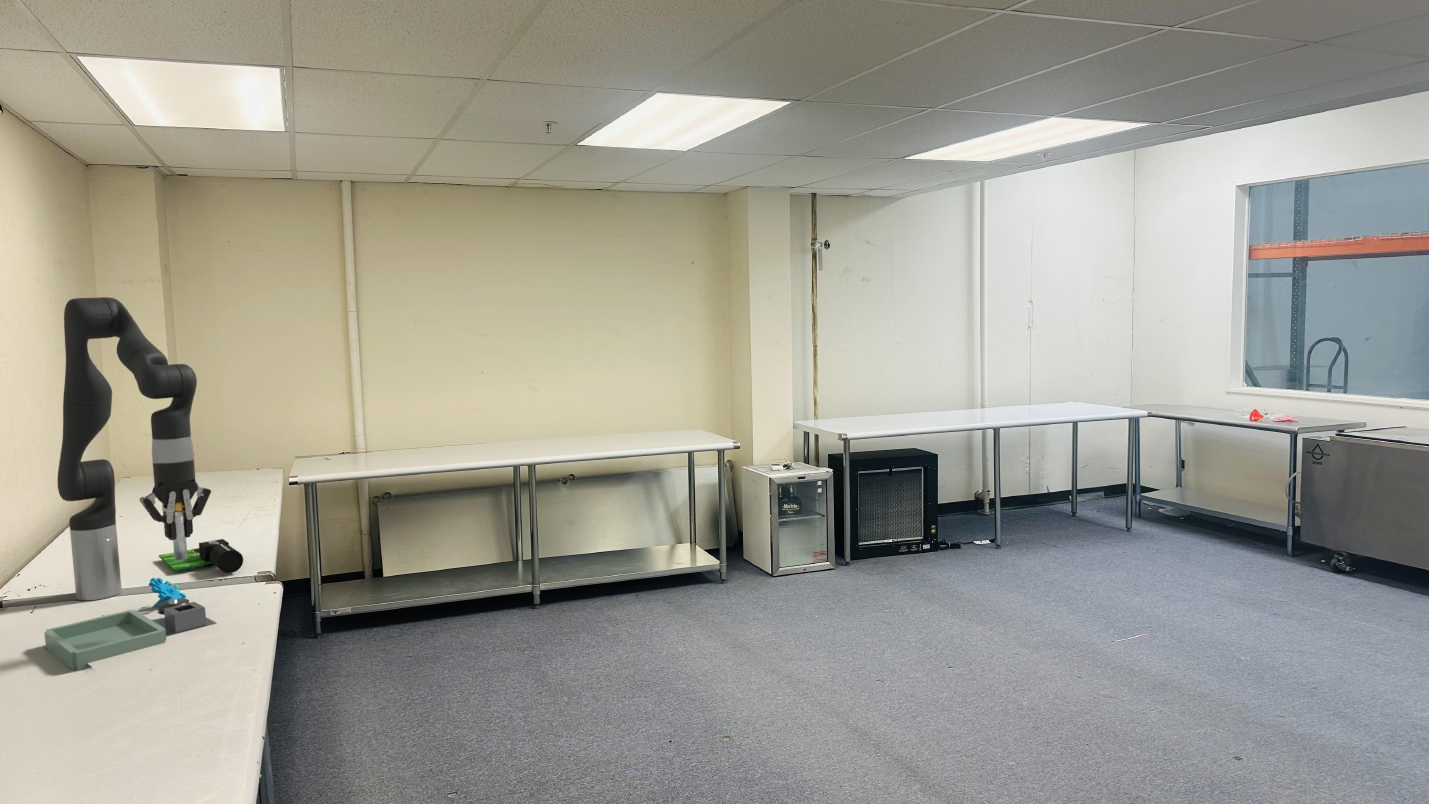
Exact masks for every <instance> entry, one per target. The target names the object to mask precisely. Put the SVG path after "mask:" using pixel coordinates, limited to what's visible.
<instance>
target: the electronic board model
mask: <svg viewBox="0 0 1429 804" xmlns="http://www.w3.org/2000/svg"><path fill="white" fill-rule="evenodd" d="M158 558H159V559H161V561H163V562H164V563H165V564H166V565H167V566H168V567H170V569H171V570H173V571H175V572H176V571H180V570H186V569H192V568H198V567H204V566H205V567H209V568H213V567H212V566H215V567H216V568H217V569H218V570H219V571H221V572H223V573H224V574H232V573H235V572H237V571H239V570H240V569H241V567H242V566H243V565H244V557H243V554H242V553H241V552H240V551H238V550H236V549H235V548H234V547H232V546H230V542H228V541H227V540H225V539H224V538H221V539H214V540H210V541H202V542H199V543H198V547H197V548H191V549H187V559H184V560H174V552H169V553H164V554H163V553H162V554H158ZM205 567H204V568H205Z"/></svg>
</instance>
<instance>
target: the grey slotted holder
mask: <svg viewBox="0 0 1429 804" xmlns="http://www.w3.org/2000/svg"><path fill="white" fill-rule="evenodd" d="M156 608H157V613H158V614H159V615H164V617H163V618H159V619H154V620H153V621H154V622H155V623H157V624H159V625H160V626H162V627H164V628H165V629H166V638H167V637H169V636H174V635H179V634H181V633H182V634H183V633H185V632H190V631H193V630H197V629H201V628H205V627H209V626H212V625H216V624H218V623H217V622H216V621H214V620H212V619H210V618H209V617H207V615H206V614H207V613H206V607H205V606H204V605H201V604H199V603H197V602H195V601H191V602H190V600H189V599H188V598H185V599H170V600H167V601H164V602H161V603H159V604H158V605H157V607H156Z"/></svg>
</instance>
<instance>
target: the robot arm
mask: <svg viewBox="0 0 1429 804" xmlns="http://www.w3.org/2000/svg"><path fill="white" fill-rule="evenodd" d="M138 325H139V324H138V323H137V322H136V321H135V319H134V317H133V316H132V315H131V314H130V312H129V310H128V309H127V308H126V307H125V305H124V304H123V303H122V302H121V301H120V300H118V299H117V298H115V297H107V296H106V297H105V296H102V297H77V298H70V299H69V300H68V301H66V304H65V307H64V312H63V330H64V331H63V332H64V346H65V347H64V348H65V350H64V351H65V370H64V371H65V373H64V374H65V375H64V385H63V387H64V388H63V401H62V402H63V403H62V441H61V448H60V457H59V461H58V468H57V469H58V470H57V480H56V482H57V490H58V495H59V496H60V498H61V499H62V500H63V501H65V502H77V501H84V500H90V499H91V500H93V499H94V501H93V502H92V504H90V506H88V507H86V508H85V509H83V510H81V511H79V512H77V513H75V514H73V515H72V516H71V517H70V518H69V523H68V525H69V535H70V545H71V554H72V555H71V556H72V567H73V568H72V569H73V579H74V589H75V599H76V600H79V601H96V600H101V599H102V600H103V599H107V598H111V597H114V596H117V595H118V594H121V592H122V581H121V579H122V578H121V567H120V565H121V563H120V555H119V554H120V553H119V543H118V531H117V530H118V529H117V519H116V515H117V513H116V512H117V509H116V508H117V507H116V480H115V479H116V477H115V470H114V468H113V465H112V464H111V462H110V461H109V460H108V459H104V458H103V459H92V460H83V461H82V458H83V455H84V453H85V451H86V450H87V448H88V446H89V445H90V443H91V442H92V441H93V440H94V438H96V436H97V435H98V434H99V433H100V432H101V431H102V430H103V428H104V427H105V426H106V425H107V423H108V422H109V420H110V418H111V414H112V406H113V405H112V402H113V390H112V387H111V385H110V383H109V381H108V380H107V378H106V377H105V376H104V375H103V373H102V372H101V371H100V370H99V369H98V368H97V366H96V365H95V364H94V362H93V360H92V359H91V357H90V354H89V348H88V342H89V340H94V339H95V340H96V339H97V340H98V339H110V338H114V337H115V338H119V339H118V342H117V345H116V355H117V358H118V359H119V361H120V362H121V364H123V365H124V367H125V368H127V370H129V372H130V373H132V374H133V377H134V379H135V381H136V384H137V388H138V390H139V392H140V394H141V395H143V396H144V397H145V398H148V399H152V400H160V399H170V398H172V400H171V403H170V404H169V406H167V407H164V408H162V409H158V410H156V411H154V412H152V413H151V416H150V427H151V438H152V439H151V440H152V441H151V442H152V443H151V457H152V458H151V459H152V469H153V471H152V472H153V483H154V486H153V487H152V491H151V493H149V494H148V495H146V496H142V497H140V498H139V502H140V503H141V504H142V506H143V507H144V509H145V510H146V512H147V513H148V515H149V516H150V517H151V518H152V520H153V521H156V522H158V523H163V530H164V536H165V538H167V539H168V541H173V540H175V526H174V523H173V513H174V510H175V503H178V502H182V503H183V505H184V517H185V531H186V539H187V538H190V537H191V535H193V532H194V526H193V525H194V523H193V519H194V518H196V517H197V516H201V515H202V513H203V512H204V509H205V507H206V504H207V502H208V500H209V498H210V495H211V494H212V490H211V489H210V488H206V487H200V486H199V484H198V483H197V481H196V471H195V470H196V469H195V468H196V467H195V451H194V445H193V444H194V443H193V440H192V432H191V431H192V430H191V420H190V419H191V411H192V407H193V402H194V397H195V395H196V391H197V384H198V383H197V382H198V381H197V380H198V379H197V375H196V372H195V371H194V369H193V367H191V366H189V365H188V364H184V363H172V364H169V361H168V358H167V357H166V355H165V354H164V353H163V352H162V351H161V350H160V349H158V348H157V347H156V345H154V344H153V343H152V342H151V341H150V340H149V339H148V338H147V337H146V336H145V335H144V333H143V332H142V330H141V328H140V327H139V326H138ZM123 365H122V366H123ZM195 494H196V500H195V502H194V504H193V506H192V502H191V501H192V499H193V497H194V496H195ZM155 499H157V500H158V501H159V502H160V503H161V505H162V507H161V509H162V514H161V512H159V510H158V508H157V507H156V506H155V504H156V500H155Z"/></svg>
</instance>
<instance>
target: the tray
mask: <svg viewBox="0 0 1429 804" xmlns="http://www.w3.org/2000/svg"><path fill="white" fill-rule="evenodd" d="M44 641H45V649H46V648H47V649H46V650H48V651H49V652H50V653H51V654H52V653H53V654H52V655H54V657H56V658H57V659H58V660H60V661H61V662H62V663H63V664H64V665H66V666H67V667H68V668H69V669H70V668H71V669H70V670H71V671H74V669H75V670H76V671H78V670H79V671H82V669H83V670H86V669H89V668H92V666H91V663H93V662H97V661H102V660H105V659H109V658H113V657H116V656H121V655H125V654H127V653H132V652H135V651H139V650H144V649H146V648H147V649H148V648H150V647H155V646H159V645H162V644H166V641H167V637H166V629H165V628H164V627H162V626H160V625H159V624H157V623H155V622H154V620H152V619H150V618H148V617H147V616H145V615H143V614H142V613H140V612H138V611H137V610H131V609H129V610H125V611H120V612H116V613H112V614H108V615H103V616H99V617H94V618H91V619H86V620H82V621H78V622H73V623H68V624H65V625H64V624H63V625H60V626H55V627H52V628H48V629H46V630H45V631H44ZM89 663H90V664H89Z"/></svg>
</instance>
